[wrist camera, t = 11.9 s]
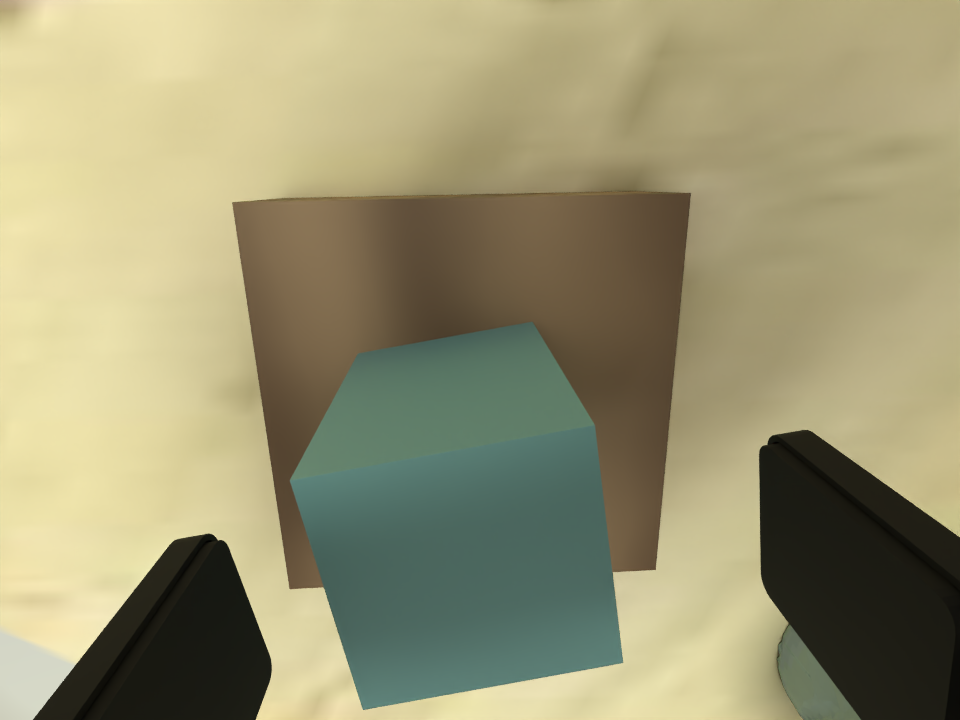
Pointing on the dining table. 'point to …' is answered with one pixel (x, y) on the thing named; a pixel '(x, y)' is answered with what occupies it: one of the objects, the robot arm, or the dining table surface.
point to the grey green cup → (809, 682)
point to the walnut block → (473, 318)
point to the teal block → (460, 518)
